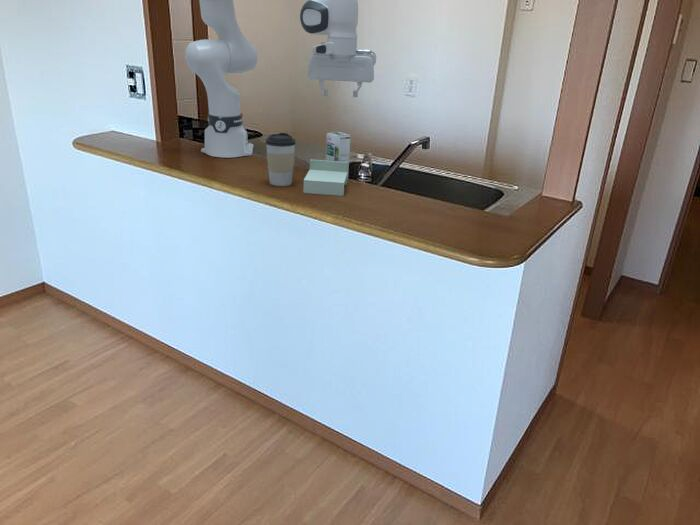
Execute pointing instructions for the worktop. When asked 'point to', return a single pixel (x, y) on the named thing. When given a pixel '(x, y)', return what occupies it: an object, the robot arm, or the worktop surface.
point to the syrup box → (338, 147)
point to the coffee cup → (280, 158)
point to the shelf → (326, 177)
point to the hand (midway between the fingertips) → (340, 96)
